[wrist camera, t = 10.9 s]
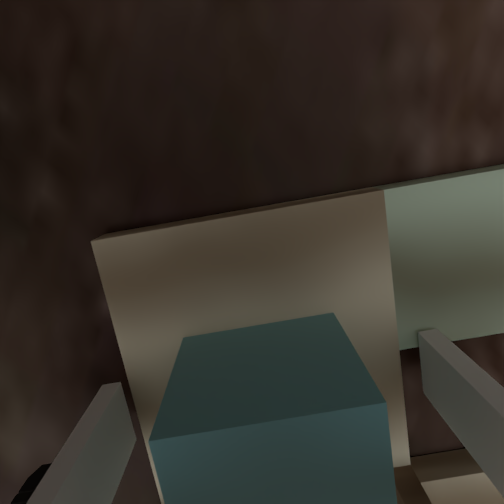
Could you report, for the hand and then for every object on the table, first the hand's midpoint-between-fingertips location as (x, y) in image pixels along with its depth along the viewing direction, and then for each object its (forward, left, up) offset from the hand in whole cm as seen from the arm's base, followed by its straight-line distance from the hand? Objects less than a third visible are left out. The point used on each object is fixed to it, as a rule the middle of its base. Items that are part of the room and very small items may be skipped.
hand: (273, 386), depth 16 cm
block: (0, 0, 0) cm, 0 cm away
